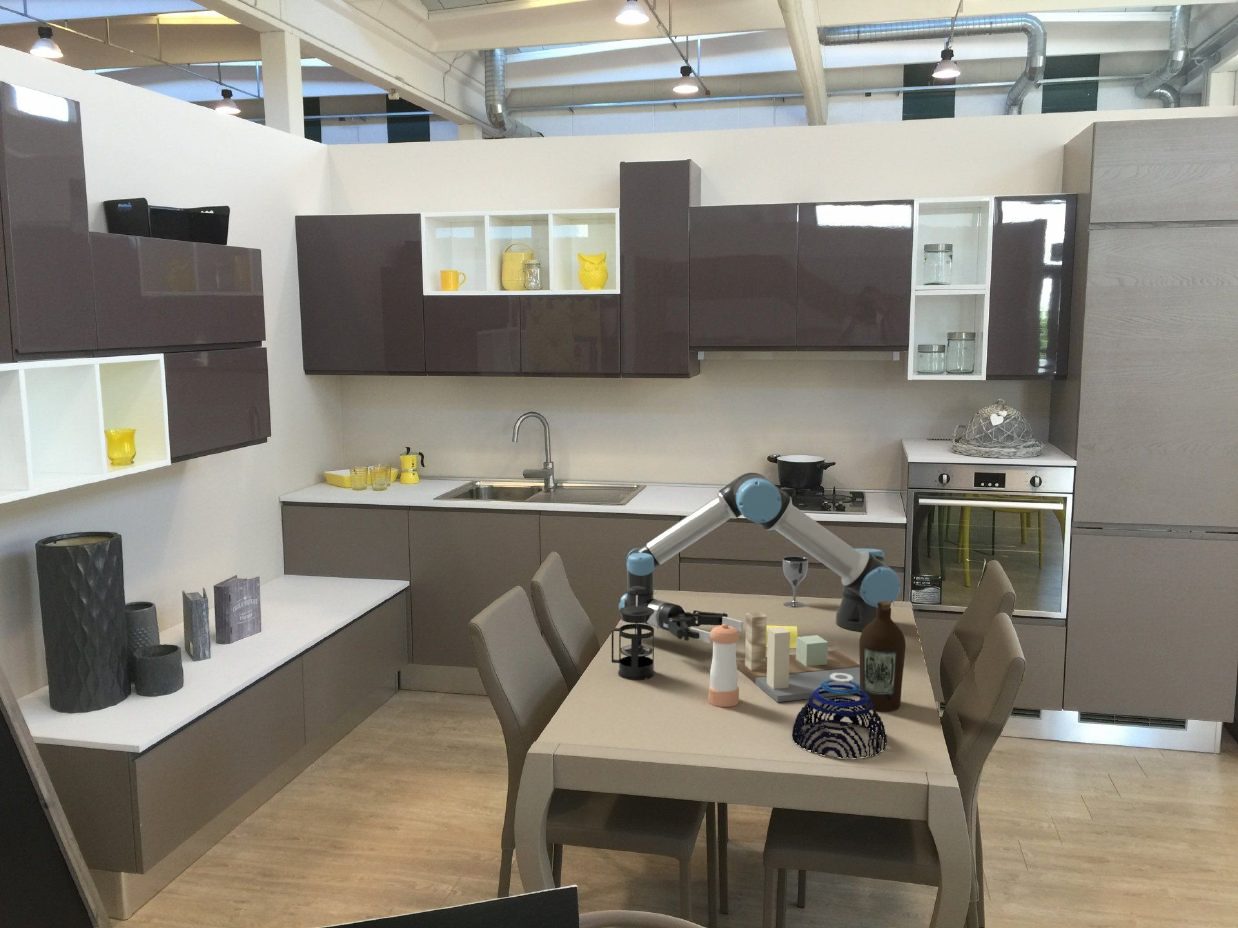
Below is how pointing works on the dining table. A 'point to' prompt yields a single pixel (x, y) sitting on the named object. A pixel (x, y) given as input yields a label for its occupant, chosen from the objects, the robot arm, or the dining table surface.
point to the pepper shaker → (724, 667)
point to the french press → (635, 642)
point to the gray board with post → (796, 684)
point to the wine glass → (795, 575)
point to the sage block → (811, 650)
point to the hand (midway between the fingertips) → (726, 632)
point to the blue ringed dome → (838, 719)
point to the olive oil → (882, 660)
